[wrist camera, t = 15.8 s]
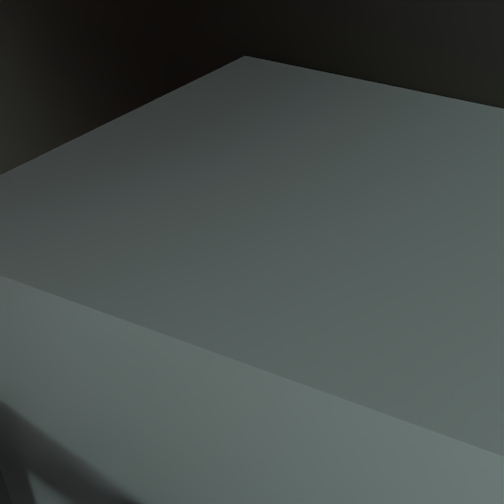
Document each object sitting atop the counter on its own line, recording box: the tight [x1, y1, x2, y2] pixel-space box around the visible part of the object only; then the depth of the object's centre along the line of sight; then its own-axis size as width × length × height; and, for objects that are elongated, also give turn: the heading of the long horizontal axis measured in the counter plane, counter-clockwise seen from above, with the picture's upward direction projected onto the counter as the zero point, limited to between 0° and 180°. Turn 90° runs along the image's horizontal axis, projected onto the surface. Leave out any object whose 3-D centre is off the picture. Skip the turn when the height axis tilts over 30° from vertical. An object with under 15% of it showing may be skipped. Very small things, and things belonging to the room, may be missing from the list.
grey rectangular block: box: [0, 56, 504, 504], centre depth 9 cm, size 7×7×9 cm
